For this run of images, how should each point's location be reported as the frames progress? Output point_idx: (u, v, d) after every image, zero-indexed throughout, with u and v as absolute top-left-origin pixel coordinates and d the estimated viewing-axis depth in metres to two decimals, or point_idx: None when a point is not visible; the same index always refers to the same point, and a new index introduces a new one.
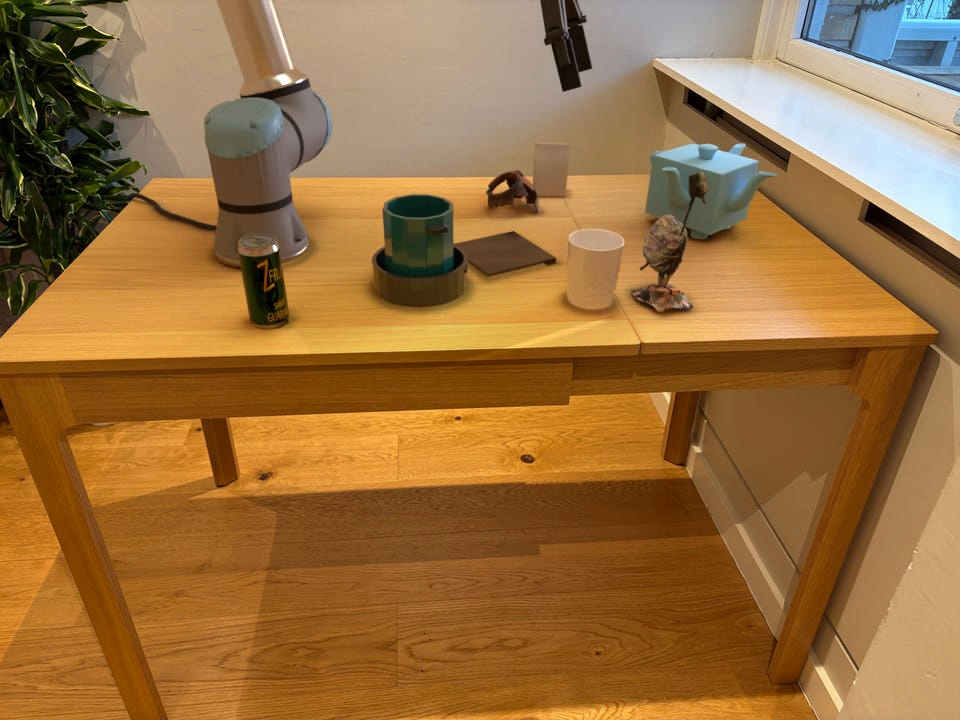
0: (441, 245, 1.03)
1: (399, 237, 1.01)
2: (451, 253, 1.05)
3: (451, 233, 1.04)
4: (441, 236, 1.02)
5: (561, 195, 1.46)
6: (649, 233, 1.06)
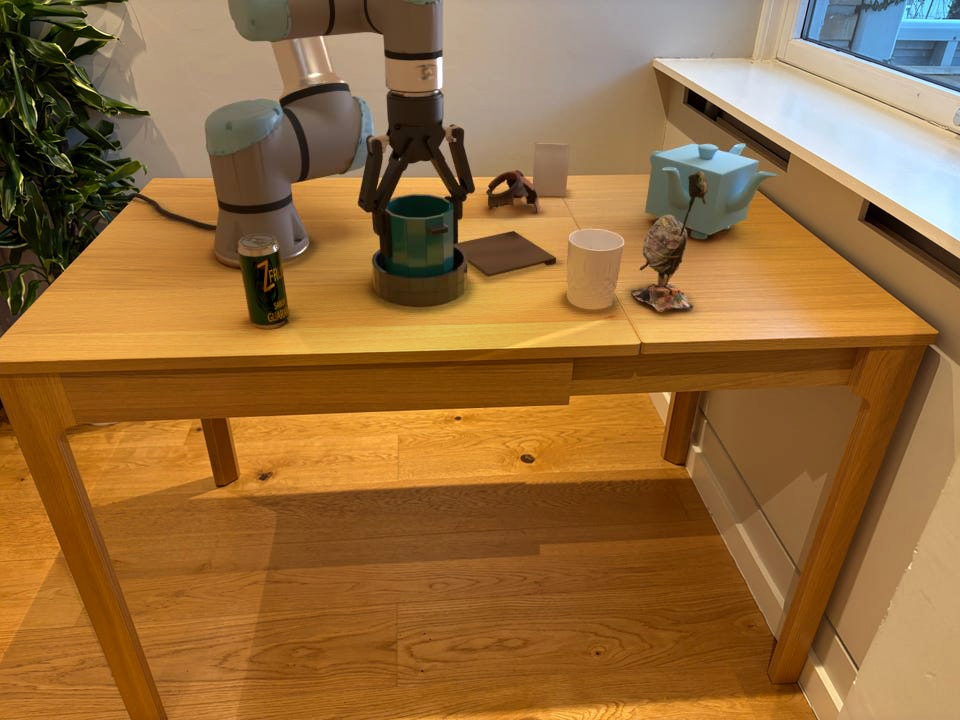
0: (441, 245, 1.03)
1: (399, 237, 1.01)
2: (451, 253, 1.05)
3: (451, 233, 1.04)
4: (441, 236, 1.02)
5: (561, 195, 1.46)
6: (649, 233, 1.06)
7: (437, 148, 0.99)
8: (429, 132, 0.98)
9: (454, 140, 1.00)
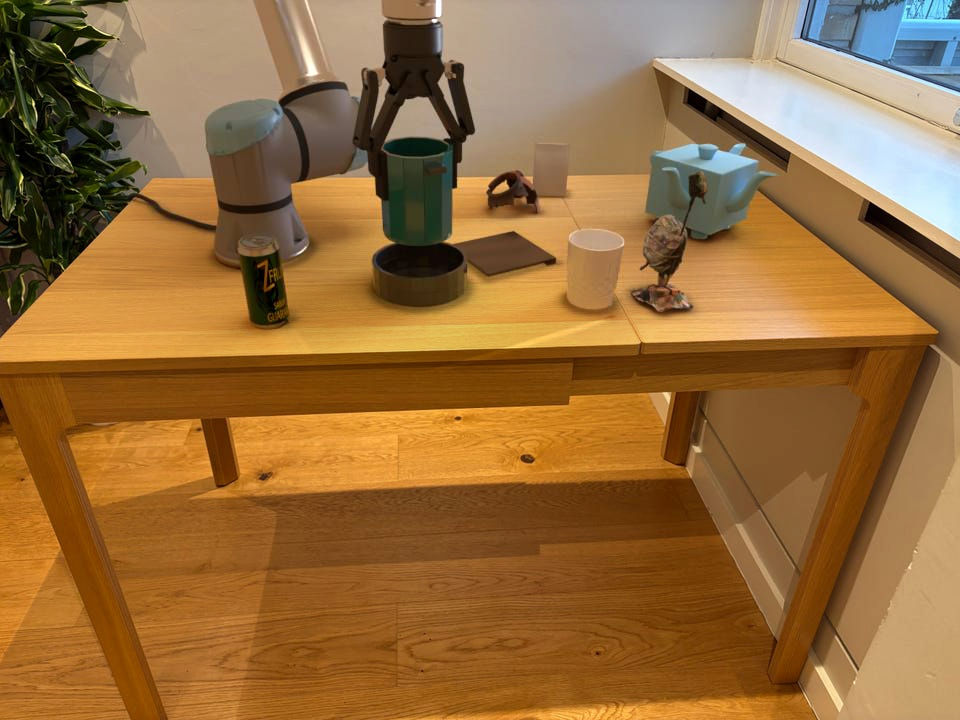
0: (439, 187, 0.98)
1: (395, 178, 0.97)
2: (450, 198, 1.01)
3: (450, 175, 0.99)
4: (439, 177, 0.97)
5: (561, 195, 1.46)
6: (649, 233, 1.06)
7: (436, 83, 0.94)
8: (427, 66, 0.93)
9: (453, 76, 0.95)
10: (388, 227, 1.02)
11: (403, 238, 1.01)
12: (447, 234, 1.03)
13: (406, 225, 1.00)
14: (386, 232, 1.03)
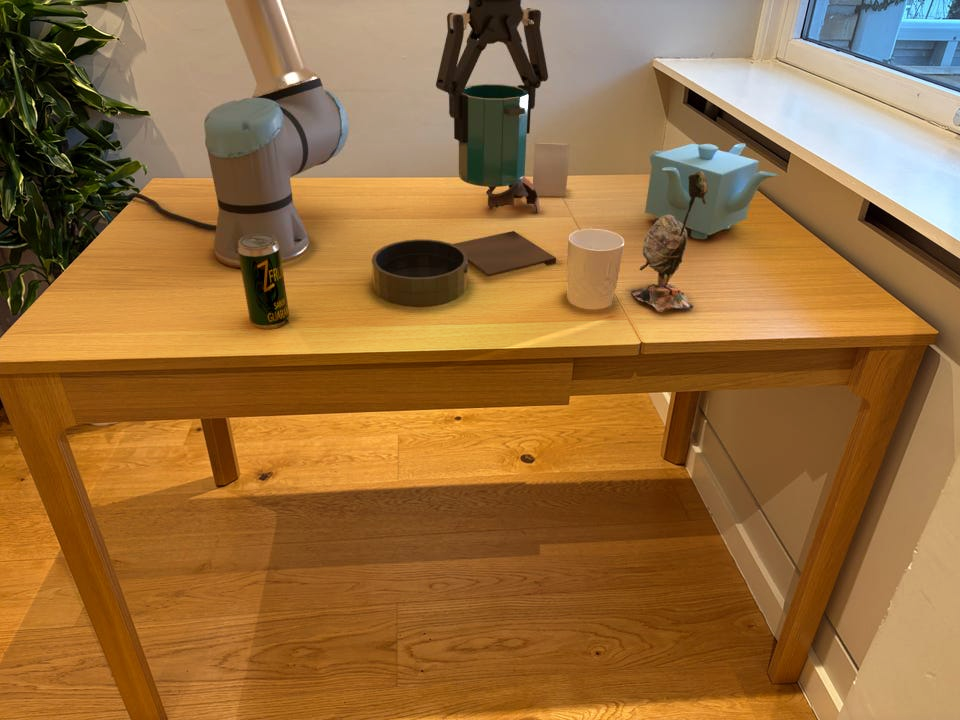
0: (516, 129, 1.03)
1: (475, 119, 1.02)
2: (525, 141, 1.06)
3: (525, 119, 1.05)
4: (517, 119, 1.03)
5: (561, 195, 1.46)
6: (649, 233, 1.06)
7: (515, 28, 1.00)
8: (508, 11, 0.99)
9: (531, 22, 1.01)
10: (465, 169, 1.07)
11: (480, 179, 1.06)
12: (520, 176, 1.09)
13: (484, 166, 1.05)
14: (463, 175, 1.08)
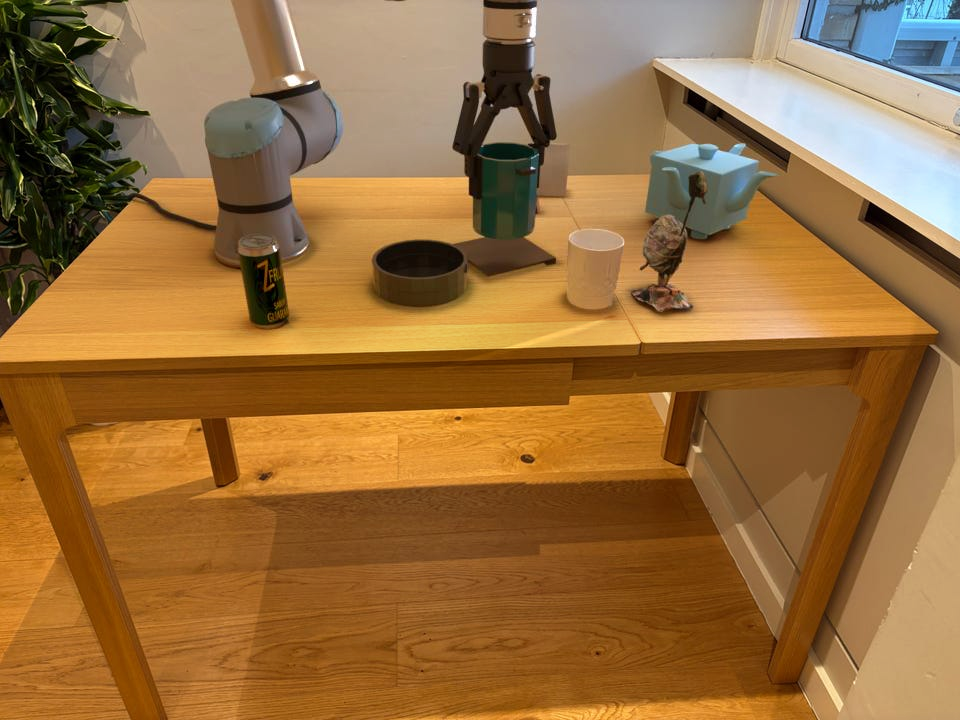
0: (527, 187, 1.10)
1: (489, 179, 1.09)
2: (535, 196, 1.13)
3: (536, 176, 1.11)
4: (528, 178, 1.10)
5: (561, 195, 1.46)
6: (649, 233, 1.06)
7: (526, 95, 1.06)
8: (520, 80, 1.05)
9: (541, 88, 1.08)
10: (479, 223, 1.14)
11: (493, 232, 1.13)
12: (531, 229, 1.15)
13: (497, 221, 1.12)
14: (476, 227, 1.15)
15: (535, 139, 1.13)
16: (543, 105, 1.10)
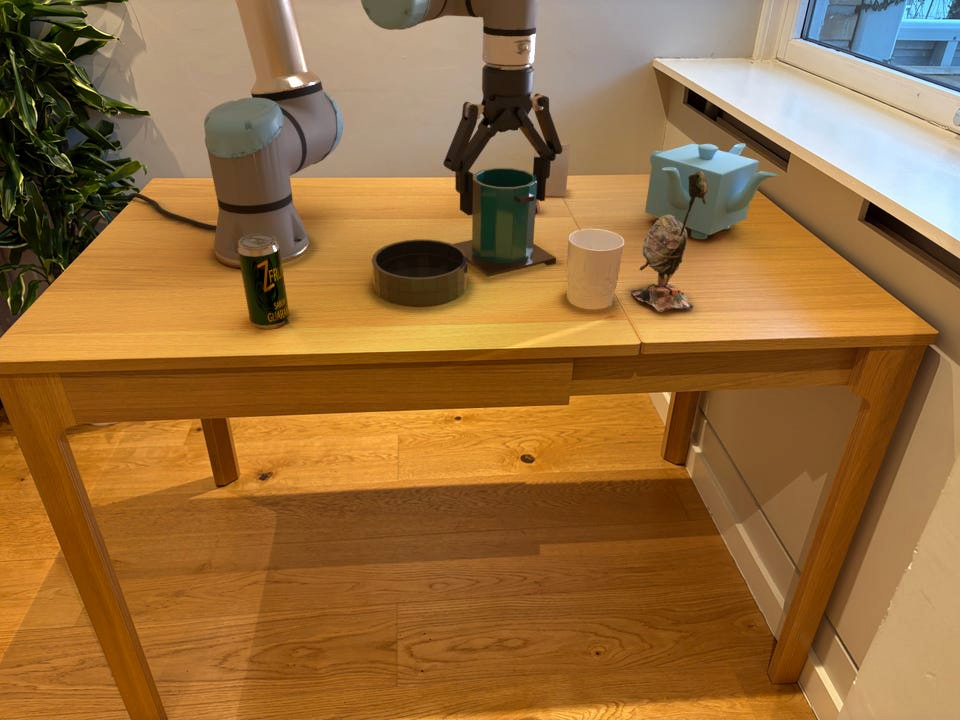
0: (526, 213, 1.13)
1: (488, 205, 1.11)
2: (533, 221, 1.16)
3: (534, 202, 1.14)
4: (526, 204, 1.12)
5: (561, 195, 1.46)
6: (649, 233, 1.06)
7: (526, 117, 1.08)
8: (519, 103, 1.07)
9: (541, 108, 1.09)
10: (478, 247, 1.16)
11: (492, 257, 1.15)
12: (529, 253, 1.18)
13: (496, 246, 1.14)
14: (476, 251, 1.17)
15: (541, 153, 1.15)
16: (545, 123, 1.11)
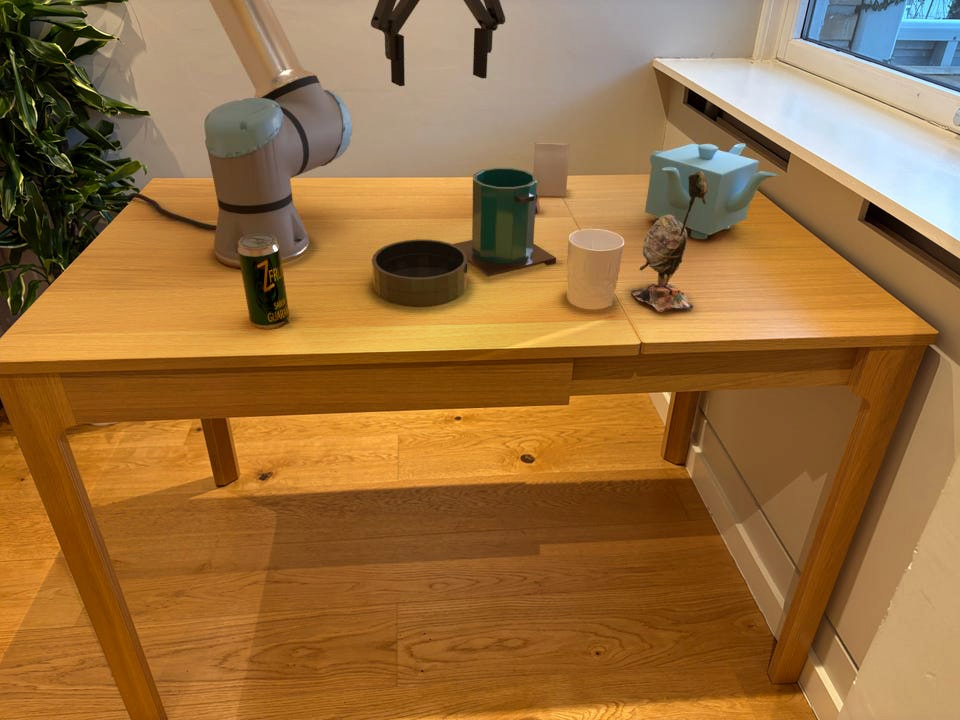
0: (526, 213, 1.13)
1: (488, 205, 1.11)
2: (533, 221, 1.16)
3: (534, 202, 1.14)
4: (526, 204, 1.12)
5: (561, 195, 1.46)
6: (649, 233, 1.06)
7: None
8: None
9: None
10: (478, 247, 1.16)
11: (492, 257, 1.15)
12: (529, 253, 1.18)
13: (496, 246, 1.14)
14: (476, 251, 1.17)
15: (482, 23, 1.05)
16: None
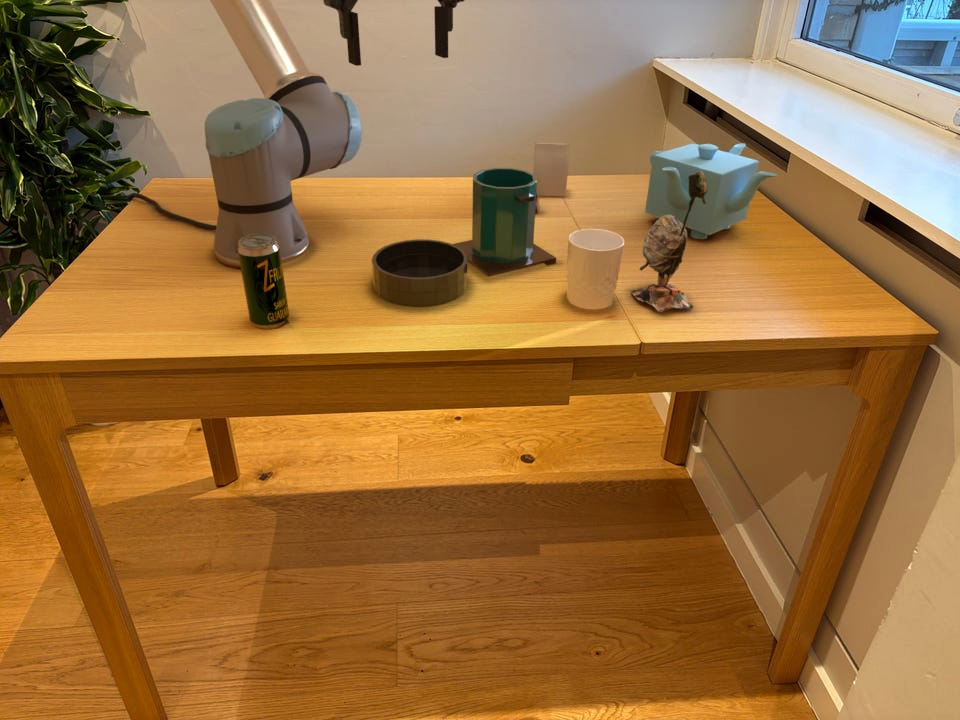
0: (526, 213, 1.13)
1: (488, 205, 1.11)
2: (533, 221, 1.16)
3: (534, 202, 1.14)
4: (526, 204, 1.12)
5: (561, 195, 1.46)
6: (649, 233, 1.06)
7: None
8: None
9: None
10: (478, 247, 1.16)
11: (492, 257, 1.15)
12: (529, 253, 1.18)
13: (496, 246, 1.14)
14: (476, 251, 1.17)
15: (442, 1, 1.03)
16: None
